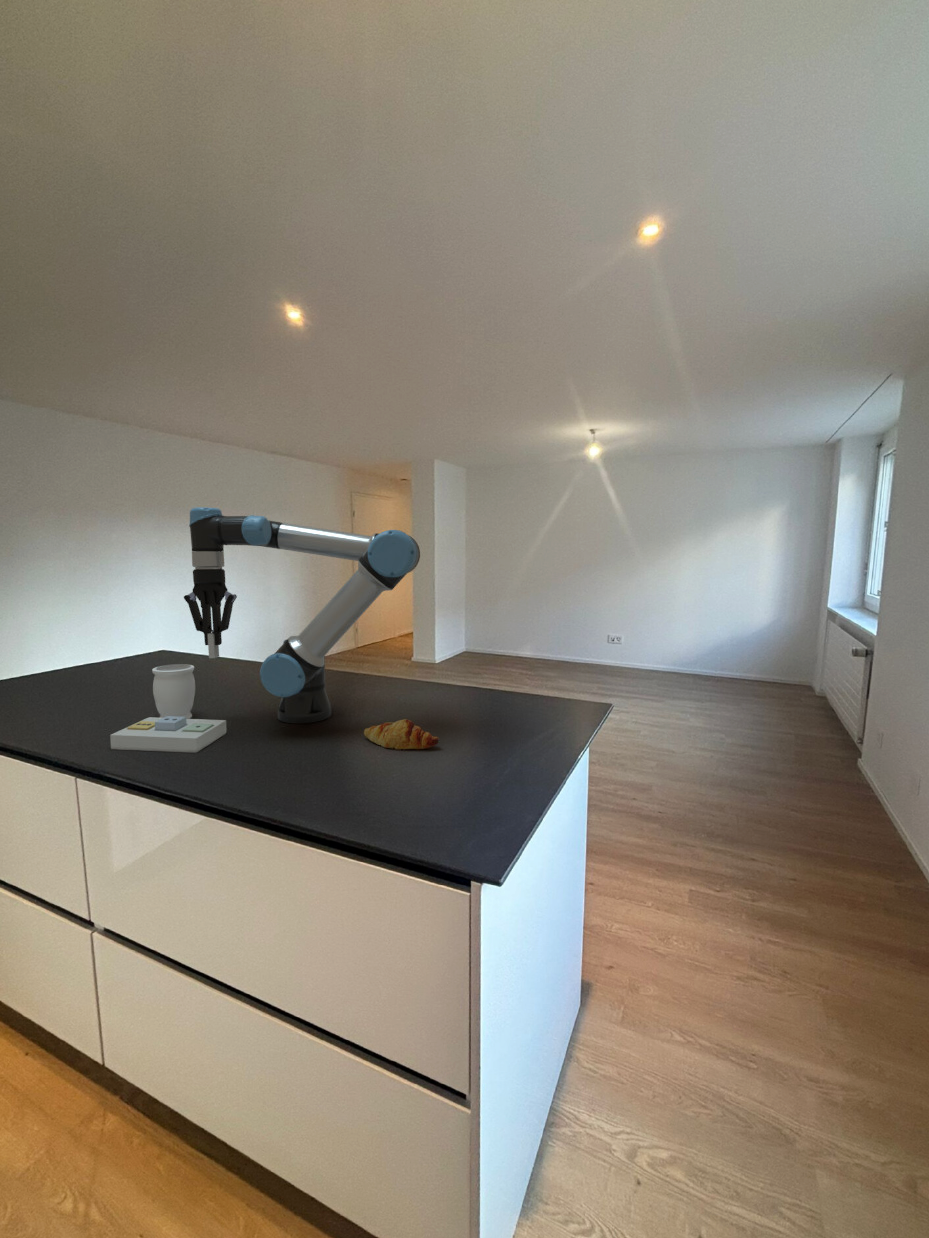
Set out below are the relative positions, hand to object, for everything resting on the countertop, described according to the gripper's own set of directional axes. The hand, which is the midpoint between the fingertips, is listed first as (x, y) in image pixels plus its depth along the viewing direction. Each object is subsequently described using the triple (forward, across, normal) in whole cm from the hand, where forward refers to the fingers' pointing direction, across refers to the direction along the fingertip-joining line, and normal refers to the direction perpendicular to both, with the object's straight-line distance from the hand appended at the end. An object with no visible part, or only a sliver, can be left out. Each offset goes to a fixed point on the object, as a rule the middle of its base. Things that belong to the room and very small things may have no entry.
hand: (214, 657), depth 136 cm
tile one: (+19, +1, +10) cm, 21 cm away
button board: (+20, +8, +9) cm, 23 cm away
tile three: (+19, +15, +9) cm, 25 cm away
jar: (+20, +16, -8) cm, 26 cm away
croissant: (+22, -50, +9) cm, 55 cm away
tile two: (+17, +8, +9) cm, 21 cm away
